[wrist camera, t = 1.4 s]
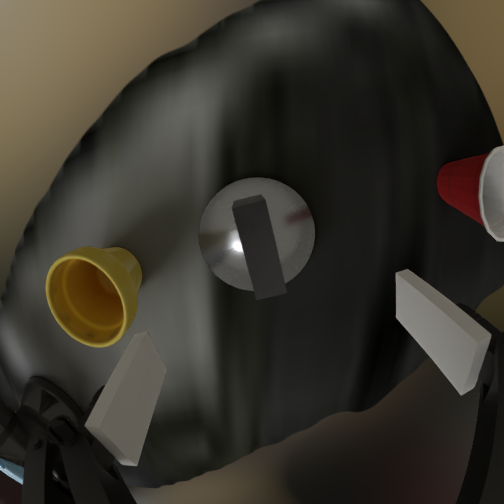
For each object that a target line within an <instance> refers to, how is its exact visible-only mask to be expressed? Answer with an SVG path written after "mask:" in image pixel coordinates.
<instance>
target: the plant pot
mask: <svg viewBox="0 0 504 504" xmlns="http://www.w3.org/2000/svg"><path fill="white" fill-rule="evenodd" d="M141 281H142V270H141V267H140V264H139V262H138V261H137V259H136V258H135V256H134V255H133V254H132V253H130V252H129V251H127V250H126V249H123V248H120V247H110V248H104V249H100V248H96V247H81V248H78V249H76V250H73V251H71V252H69V253H67V254H65V255H63V256H62V257H60V258H59V259H57V260H56V261H55V262H54V263H53V265H52V266H51V268H50V269H49V272H48V274H47V278H46V296H47V301H48V304H49V307H50V310H51V312H52V314H53V316H54V318H55V319H56V321H57V322H58V324H59V325H60V326H61V327H62V328H63V330H64V331H65V332H66V333H67V334H69V335H70V336H71V337H72V338H74V339H75V340H77V341H79V342H81V343H83V344H85V345H88V346H92V347H107V346H110V345H113V344H114V343H116V342H117V341H119V340H120V339H121V338H122V337H123V335H124V334H125V332H126V331H127V330H128V328H129V327H130V325H131V323H132V321H133V320H134V317H135V315H136V311H137V306H138V297H137V294H138V291H139V288H140V285H141Z"/></svg>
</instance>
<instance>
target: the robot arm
mask: <svg viewBox="0 0 504 504" xmlns="http://www.w3.org/2000/svg"><path fill="white" fill-rule="evenodd" d="M396 318H397V319H398V320H399V322H400V323H401V324H402V325H403V326H404V327H405V328H406V329H407V331H408V332H409V333H410V334H411V335H412V336H413V337H414V339H415V340H416V341H417V342H418V343H419V344H420V346H421V347H422V348H423V349H424V350H425V351H426V353H427V354H428V355H429V356H430V357H431V359H432V360H433V361H434V362H435V363H436V365H437V366H438V367H439V368H440V370H441V371H442V372H443V373H444V374H445V375H446V377H447V378H448V379H449V381H450V382H451V383H452V384H453V386H454V387H455V388H456V389H457V391H458V392H459V393H460V395H463V394H464V393H466V392H468V391H469V390H471V389H472V388H474V387H475V384H476V382H477V379H478V377H479V378H480V379H481V381H482V385H481V387H480V389H479V392H478V394H477V397H476V400H478V398H479V396H480V399H479V408H478V416H477V422H476V428H475V434H474V439H473V445H472V449H471V454H470V458H469V462H468V466H467V469H466V473H465V476H464V480H463V483H462V486H461V489H460V492H459V495H458V498H457V501H456V504H504V332H500V331H499V330H498V329H497V328H495V327H494V326H493V325H492V324H491V323H489V322H488V321H487V320H486V319H484V318H482V317H481V316H480V315H479V314H478V313H476V311H474V310H473V309H472V308H470V307H469V306H466V305H464V304H461V303H458V304H456V305H455V304H454V303H452V302H451V301H450V300H449V299H447V298H446V297H445V296H443V295H442V294H441V293H439V292H438V291H437V290H436V289H434V288H433V287H432V286H430V285H429V284H427V283H426V282H425V281H423V280H422V279H421V278H419V277H418V276H417V275H415V274H414V273H412V272H411V271H410V270H408V269H407V270H404V271H401V272H397V273H396ZM166 372H167V369H166V368H165V366H164V364H163V362H162V360H161V358H160V356H159V354H158V352H157V350H156V348H155V346H154V344H153V342H152V340H151V338H150V336H149V334H148V332H140V333H135V335H134V336H133V338H132V340H131V341H130V343H129V345H128V347H127V348H126V350H125V352H124V353H123V355H122V357H121V359H120V360H119V362H118V364H117V366H116V367H115V369H114V371H113V373H112V375H111V376H110V378H109V380H108V382H107V384H106V386H102V387H101V388H100V389H99V390H98V391H97V392H96V393H95V395H94V397H93V399H92V402H91V403H90V404H89V408H87V410H86V412H85V414H84V416H83V414H82V412H81V411H80V409H79V408H78V406H77V405H76V404H75V403H74V401H73V400H72V399H71V398H70V397H69V396H68V395H67V394H65V393H64V392H63V391H62V390H61V389H59V388H58V387H57V386H55V385H54V384H52V383H50V382H49V381H47V380H45V379H42V378H39V377H32V378H30V379H29V381H28V382H27V383H26V384H25V386H24V390H23V393H22V397H21V401H20V405H19V408H18V409H17V411H16V412H14V411H13V410H12V409H11V407H10V406H9V405H8V404H7V403H6V402H5V400H4V399H3V398H2V397H1V395H0V470H1V471H3V472H4V473H6V474H7V475H8V476H10V477H11V478H13V479H15V480H16V481H18V482H20V483H21V484H23V489H22V504H137V503H136V501H135V500H134V498H133V497H132V495H131V493H130V491H129V489H128V488H127V486H126V484H125V482H124V480H123V478H122V477H121V475H120V473H119V471H118V469H117V467H116V466H115V465H114V464H113V461H114V458H116V459H117V460H118V461H119V462H120V463H121V464H123V465H130V466H137V464H138V461H139V457H140V454H141V451H142V447H143V444H144V440H145V437H146V434H147V431H148V427H149V424H150V421H151V418H152V415H153V412H154V408H155V405H156V402H157V399H158V396H159V393H160V390H161V387H162V384H163V381H164V378H165V375H166ZM53 474H54V475H55V476H56V477H57V481H55V480H53Z"/></svg>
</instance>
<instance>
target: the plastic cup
mask: <svg viewBox="0 0 504 504" xmlns="http://www.w3.org/2000/svg"><path fill="white" fill-rule="evenodd" d="M437 188H438V192H439V194H440V196H441V198H442V199H443V200H444V201H445V202H447V203H448V204H449V205H451V206H453V207H455V208H457V209H458V210H459V211H461V212H462V213H464V214H466V215H467V216H469V217H471V218H472V219H474V220H476V221H477V222H479V223H480V224H482V225H483V226H484V227H485V228H486V230H487V231H488V232H489V233H490V234H491V235H492V236H493V237H494V238H495V239H496V240H497V241H503V242H504V146H500V147H497V148H494V149H493V150H492V151H491V152H490V153H487V154H484V155H480V156H475V157H470V158H465V159H462V160H459V161H454V162H450V163H447V164H445V165H443V166H442V168H441V169H440V170H439V173H438V176H437Z"/></svg>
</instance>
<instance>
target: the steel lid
mask: <svg viewBox="0 0 504 504" xmlns="http://www.w3.org/2000/svg"><path fill="white" fill-rule="evenodd" d="M314 240H315V227H314V221H313V218H312V215H311V212H310V210H309V208H308V206H307V204H306V203H305V201H304V200H303V199H302V198H301V196H300V195H299V194H298V193H296V192H295V191H294V190H293V189H291V188H290V187H289V186H287V185H285V184H283V183H281V182H278V181H276V180H272V179H268V178H260V177H255V178H246V179H242V180H239V181H235V182H233V183H231V184H229V185H228V186H226V187H224V188H223V189H222V190H220V191H219V192H218V193H217V194H216V195H215V196H214V197H213V198H212V199H211V201H210V202H209V203H208V205H207V206H206V208H205V210H204V212H203V215H202V218H201V221H200V226H199V244H200V249H201V252H202V255H203V257H204V259H205V261H206V263H207V265H208V266H209V268H210V269H211V270H212V271H213V272H214V273H215V275H216V276H218V277H219V278H220V279H221V280H223V281H224V282H226V283H228V284H229V285H232V286H234V287H237V288H240V289H244V290H249V291H254V293H255V297H256V300H260V299H264V298H269V297H273V296H277V295H281V294H285V293H287V290H286V285H285V283H287V282H288V281H290V280H291V279H292V278H294V277H295V276H296V275H297V274H298V273H299V272H300V271H301V270H302V269H303V267H304V266H305V265H306V263H307V261H308V260H309V258H310V255H311V253H312V250H313V246H314Z"/></svg>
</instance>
